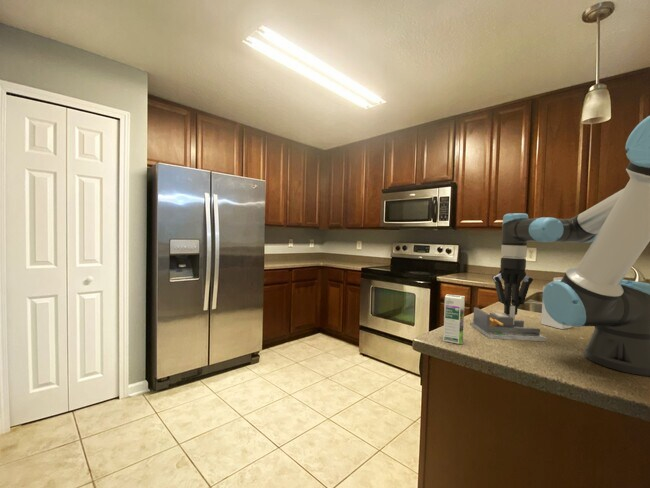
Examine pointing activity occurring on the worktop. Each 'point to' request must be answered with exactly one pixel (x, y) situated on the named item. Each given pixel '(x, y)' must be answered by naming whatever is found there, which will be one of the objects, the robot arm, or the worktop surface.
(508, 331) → the gauge bed
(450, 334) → the syrup box
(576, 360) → the worktop surface
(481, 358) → the worktop surface
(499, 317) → the grey block
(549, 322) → the milk carton
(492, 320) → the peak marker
